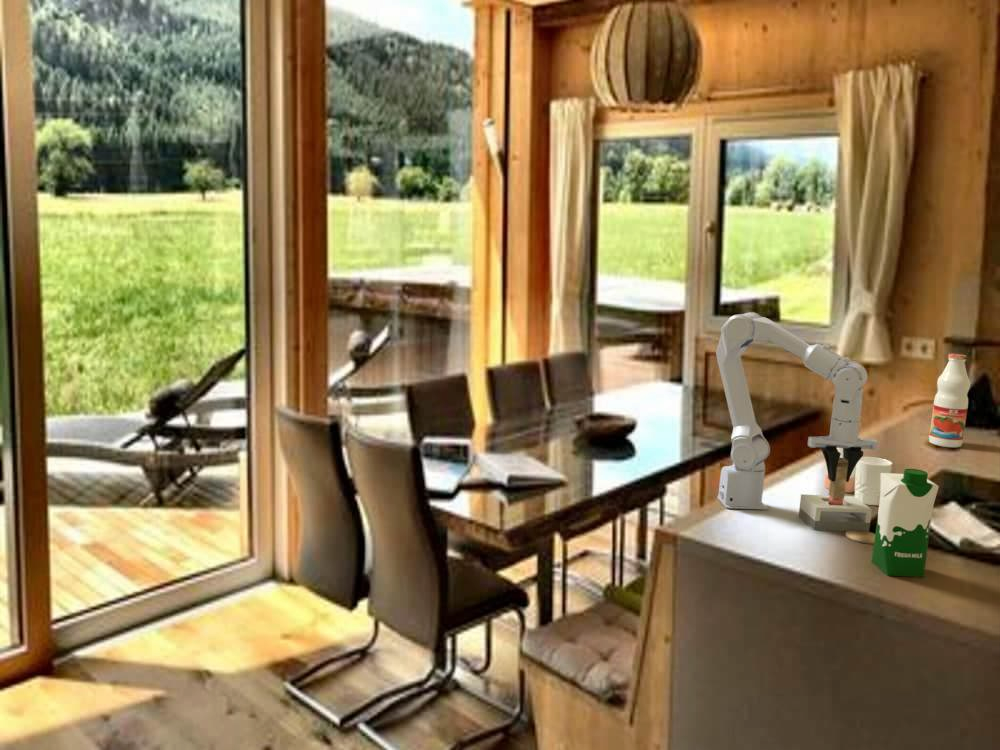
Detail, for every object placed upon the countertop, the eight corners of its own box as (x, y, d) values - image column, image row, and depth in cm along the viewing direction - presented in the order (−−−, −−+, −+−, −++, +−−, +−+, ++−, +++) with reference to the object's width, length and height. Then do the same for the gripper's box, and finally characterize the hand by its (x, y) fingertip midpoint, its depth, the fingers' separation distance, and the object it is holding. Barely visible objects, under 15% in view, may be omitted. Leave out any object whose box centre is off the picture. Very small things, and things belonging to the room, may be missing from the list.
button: (830, 511, 196) (832, 500, 196) (825, 507, 199) (826, 495, 199) (844, 512, 197) (845, 500, 196) (838, 507, 199) (840, 496, 199)
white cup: (865, 507, 212) (870, 465, 210) (844, 496, 219) (849, 456, 217) (894, 505, 214) (899, 465, 212) (872, 495, 221) (877, 456, 220)
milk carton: (884, 577, 169) (898, 474, 165) (864, 559, 178) (876, 460, 174) (931, 579, 169) (945, 476, 166) (908, 561, 178) (921, 462, 175)
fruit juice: (959, 442, 283) (972, 354, 278) (963, 449, 274) (977, 358, 269) (926, 438, 286) (939, 351, 281) (929, 445, 277) (942, 355, 272)
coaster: (854, 543, 187) (854, 541, 187) (840, 531, 194) (840, 529, 193) (887, 544, 187) (887, 542, 187) (872, 532, 194) (872, 530, 194)
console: (814, 529, 194) (816, 507, 193) (798, 515, 203) (801, 494, 202) (868, 531, 194) (871, 509, 193) (851, 517, 203) (853, 496, 202)
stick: (832, 498, 196) (837, 460, 195) (828, 494, 199) (832, 457, 197) (844, 498, 196) (848, 460, 195) (839, 495, 199) (844, 457, 197)
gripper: (819, 422, 190) (812, 484, 192) (887, 424, 191) (879, 486, 193) (807, 414, 197) (800, 474, 199) (872, 417, 198) (864, 477, 200)
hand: (838, 480), depth 197 cm, fingers closed on stick, 2 cm apart
